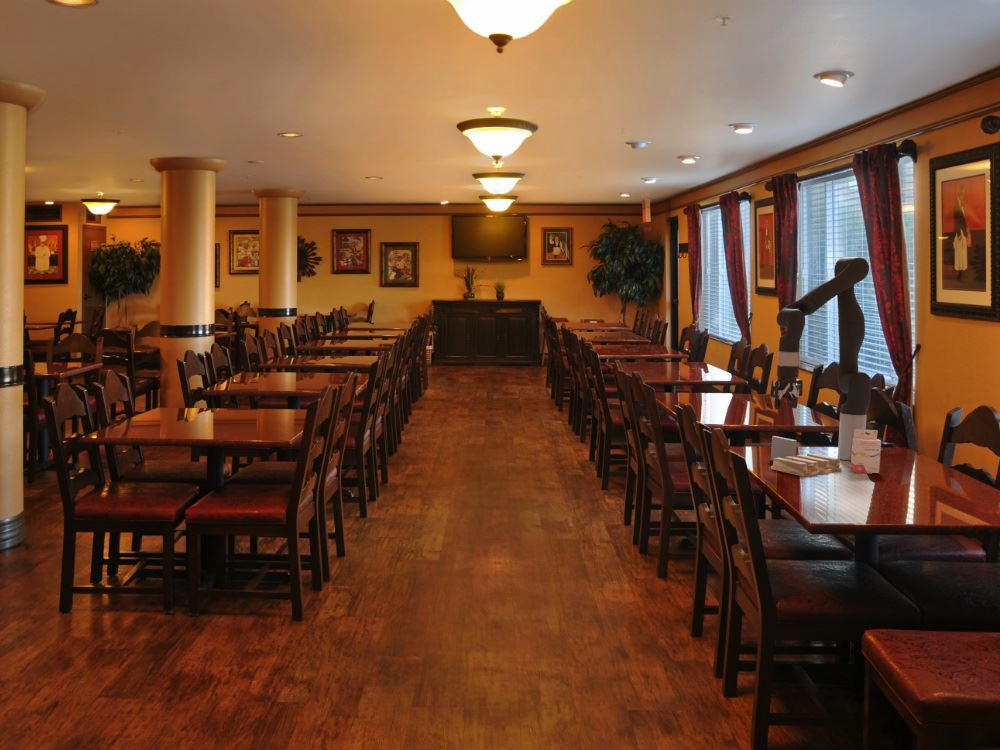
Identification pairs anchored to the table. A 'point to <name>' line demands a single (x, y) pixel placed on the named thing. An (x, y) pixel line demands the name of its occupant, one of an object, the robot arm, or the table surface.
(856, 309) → the robot arm
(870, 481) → the table surface
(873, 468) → the ink cartridge box
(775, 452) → the panel
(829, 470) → the rack
